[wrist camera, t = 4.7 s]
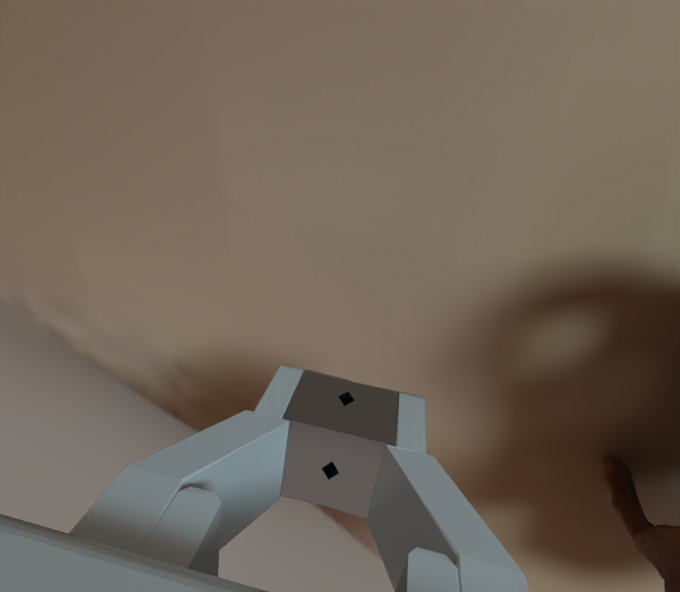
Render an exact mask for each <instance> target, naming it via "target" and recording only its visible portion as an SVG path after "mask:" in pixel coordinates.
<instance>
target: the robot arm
mask: <svg viewBox="0 0 680 592" xmlns="http://www.w3.org/2000/svg"><path fill="white" fill-rule="evenodd" d="M280 496H284V497H289V498H293V499H297V500H301V501H306V502H310V503H314V504H319V505H323V506H326V507H330V508H333V509H336V510H340V511H343V512H347V513H350V514H353V515H357V516H360V517H364V518H367V522H368V525H369V527H370V530H371V532H372V535H373V537H374V540H375V542H376V545H377V547H378V550H379V553H380V555H381V558H382V560H383V563H384V565H385V568H386V570H387V572H388V575H389V578H390V580H391V583H392V585H393V588H394V590H395V592H529V591H528V587H527V583H526V579H525V574H524V573H523V572H522V570H521V569H520V568H519V566H518V565H517V564H516V562H515V561H514V560H513V559H512V557H511V556H510V555H509V553H508V552H507V551H506V549H505V548H504V547H503V545H502V544H501V543H500V542H499V540H498V539H497V538H496V536H495V535H494V534H493V532H492V531H491V530H490V529H489V527H488V526H487V525H486V523H485V522H484V521H483V519H482V518H481V517H480V516H479V514H478V513H477V512H476V510H475V509H474V508H473V506H472V505H471V504H470V503H469V501H468V500H467V499H466V497H465V496H464V495H463V493H462V492H461V491H460V490H459V488H458V487H457V486H456V484H455V483H454V482H453V480H452V479H451V478H450V477H449V475H448V474H447V473H446V471H445V470H444V469H443V467H442V466H441V465H440V464H439V462H438V461H437V460H436V458H435V457H434V456H431V455H427V454H426V430H425V399H424V397H423V396H420V395H415V394H410V393H405V392H400V391H399V392H397V391H393V390H388V389H384V388H379V387H374V386H370V385H365V384H361V383H356V382H352V381H350V380H346V379H342V378H338V377H334V376H330V375H326V374H322V373H318V372H315V371H311V370H307V369H306V370H305V369H303V368H298V367H294V366H290V365H285V364H282V365H281V366H279V367H278V369H277V371H276V372H275V374H274V376H273V378H272V379H271V381H270V383H269V385H268V386H267V388H266V390H265V392H264V393H263V395H262V397H261V399H260V400H259V402H258V404H257V406H256V407H255V409H254V411H253V412H252V411H248V410H245V411H243V412H241V413H239V414H236V415H234V416H232V417H230V418H228V419H226V420H224V421H222V422H219V423H217V424H215V425H213V426H211V427H209V428H207V429H204V430H202V431H200V432H198V433H196V434H194V435H192V436H190V437H187V438H185V439H183V440H181V441H179V442H177V443H175V444H173V445H170V446H168V447H166V448H164V449H162V450H160V451H158V452H156V453H153V454H151V455H149V456H147V457H145V458H143V459H141V460H139V461H137V462H134V463H132V464H130V465H128V466H126V467H125V469H123V471H122V472H121V473H120V474H119V475H118V476H117V478H116V479H115V480H114V481H113V482H112V483H111V485H110V486H109V487H108V488H107V489H106V491H105V492H104V493H103V494H102V495H101V496H100V498H99V499H98V500H97V501H96V502H95V503H94V505H93V506H92V507H91V508H90V509H89V511H88V512H87V513H86V514H85V515H84V516H83V517H82V519H81V520H80V521H79V522H78V524H77V525H76V526H75V527H74V528H73V529H72V530H71V532H70V533H69V534H67V533H64V532H60V531H57V530H53V529H50V528H46V527H43V526H40V525H36V524H32V523H29V522H25V521H22V520H19V519H15V518H12V517H8V516H5V515H2V514H0V592H267V591H263V590H260V589H257V588H253V587H249V586H246V585H243V584H239V583H236V582H233V581H229V580H226V579H222V578H219V577H218V563H219V561H218V560H219V550H220V549H221V548H222V547H224V546H225V545H226V544H227V543H228V542H229V541H230V540H232V539H233V538H234V537H235V536H236V535H238V534H239V533H240V532H241V531H242V530H243V529H244V528H246V527H247V526H248V525H249V524H250V523H252V522H253V521H254V520H255V519H256V518H257V517H259V515H261V514H262V513H263V512H264V511H265V510H267V509H268V508H269V507H270V506H271V505H272V504H274V503H275V502H276V501H277V500H278V499H279V498H280Z"/></svg>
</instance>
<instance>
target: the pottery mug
mask: <svg viewBox="0 0 680 592" xmlns="http://www.w3.org/2000/svg"><path fill="white" fill-rule="evenodd" d="M602 462H603V465H604V467H605V470H606V472H605V478H604V479H605V482H606V484H607V486H608V488H609V490H610V492H611V501H612V506H613V508H614V510H615V511H616V513H617V514H618V516H619V517H620V518H621V519H622V522H623V524H624V526H625V528H626V530H627V531H628V533H629V534H630V536H631V538H632V539H633V541H634V542H635V544H636V547H637V548H638V550H639V551H640V552H641V553H642V554H644V555H645V556H646V558H647V559H648V560H649V561H650V562H651V563H652V564H653V565H654V567H655V568H656V569H657V571H658V572H659V574H660V575H661V577H662V578H663V579H664V585H665V592H680V526H669V525H656V526H654V525H653V524H651V523H650V522H648V520H647V518H646V517H645V515H644V513H643V510H642V508H641V505H640V503H639V500H638V497H637V494H636V490H635V486H634V482H633V479H632V475H631V472H630V470H629V469H628V467H627V466H625V465H624V464H623V463H622V462H621V461H619V460H617V459H615V458H613V457H611V456H603V458H602Z"/></svg>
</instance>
